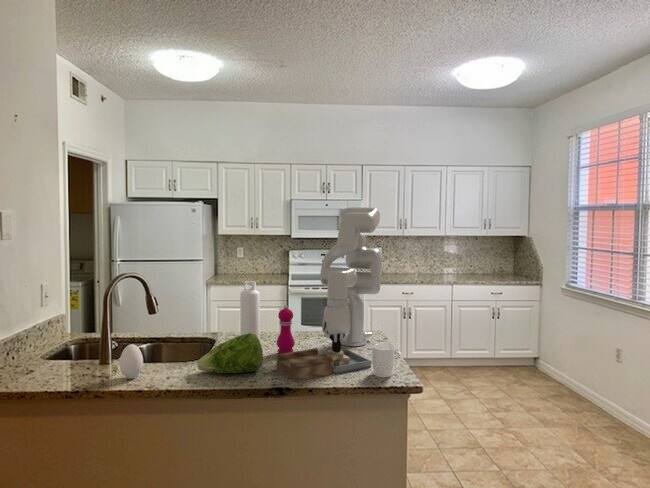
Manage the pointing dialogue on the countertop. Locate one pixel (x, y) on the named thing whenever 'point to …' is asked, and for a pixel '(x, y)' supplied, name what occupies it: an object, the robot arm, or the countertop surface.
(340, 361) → the chip
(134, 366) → the egg
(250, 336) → the lettuce
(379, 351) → the white cup
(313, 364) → the brown wooden box
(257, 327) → the bottle
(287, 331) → the pepper mill
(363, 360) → the tray
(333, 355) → the chip
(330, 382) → the countertop surface
